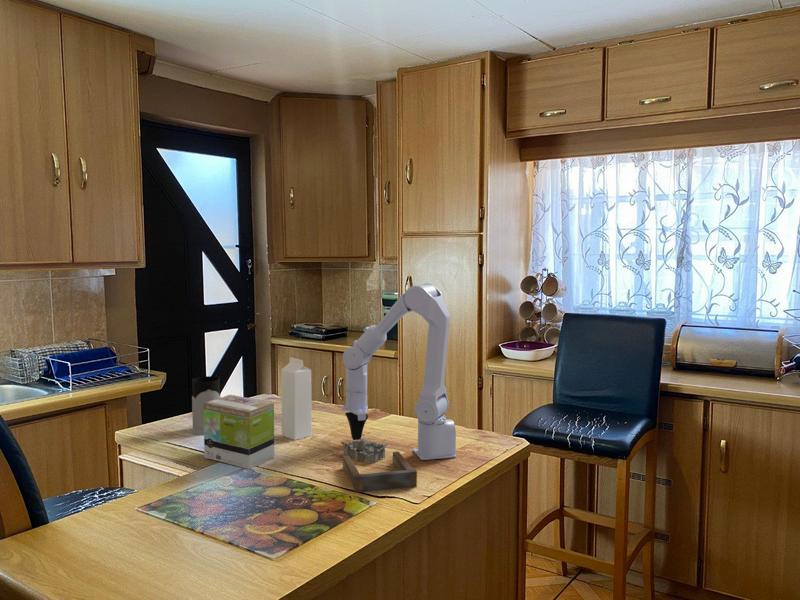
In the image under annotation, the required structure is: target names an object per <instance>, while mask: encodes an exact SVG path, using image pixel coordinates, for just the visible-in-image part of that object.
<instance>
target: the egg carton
mask: <svg viewBox="0 0 800 600" xmlns="http://www.w3.org/2000/svg"><path fill="white" fill-rule="evenodd" d="M340 444H342V445H344V446H343V450H342V451H343V452H342V454H344V455H343V456H350V458H352V457H355V458H354V461H365V460H366V461H365V463H366V462H367V463H366V464H371V463H370V462H375V463H378V460H379V459H378V458H382V459H381V460H384V459H385V458H386V449H387V446H388V443H385V444H383V443H378V442H377V441H375V442H373V441H369V440H367V439H366V438H361V439H359V440H353V441H352V442H348V443H346V442H344V441H341V442H340ZM359 449H361V450H359ZM356 450H358V451H359V452H358V451H356ZM383 458H384V459H383ZM375 463H374V464H375Z"/></svg>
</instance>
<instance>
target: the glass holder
mask: <svg viewBox="0 0 800 600" xmlns="http://www.w3.org/2000/svg"><path fill="white" fill-rule="evenodd" d="M220 379H221V378H220V377H218V376H214V375H213V376H210V375H209V376H199V377H195V378H192V380H191V382H192V384H191V385H192V386H191V387H192V396H191V403H192V404H191V410H192V411H191V412H192V413H191V415H192V427H191V431H190V432H191V434H194V435H197V436H198V435H199V436H204V411H203V409H204V405H203V403H206V402H209V401H212V400H215V399H219V398H221V396H222V395H221V387H220V385H221V384H220Z"/></svg>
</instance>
